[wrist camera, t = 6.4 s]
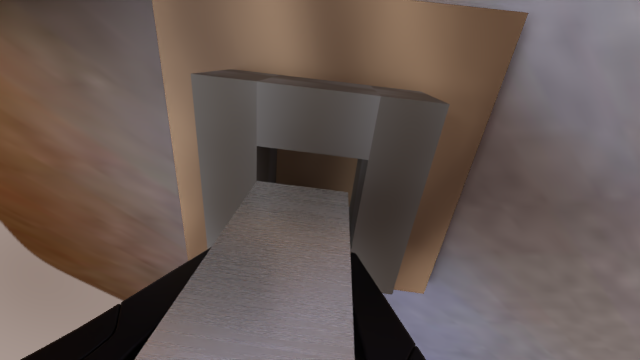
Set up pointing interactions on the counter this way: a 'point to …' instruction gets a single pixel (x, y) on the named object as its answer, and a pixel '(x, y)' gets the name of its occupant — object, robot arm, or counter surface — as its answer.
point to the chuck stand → (333, 113)
